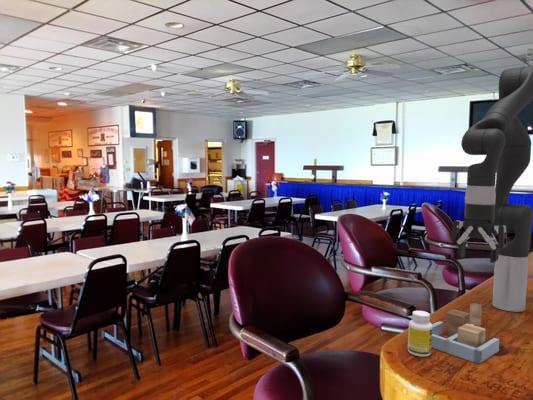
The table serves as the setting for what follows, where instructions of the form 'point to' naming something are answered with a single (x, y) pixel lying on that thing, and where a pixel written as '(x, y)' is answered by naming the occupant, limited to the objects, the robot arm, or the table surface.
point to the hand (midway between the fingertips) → (477, 259)
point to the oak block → (471, 335)
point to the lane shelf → (462, 346)
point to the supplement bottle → (420, 334)
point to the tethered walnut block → (462, 319)
